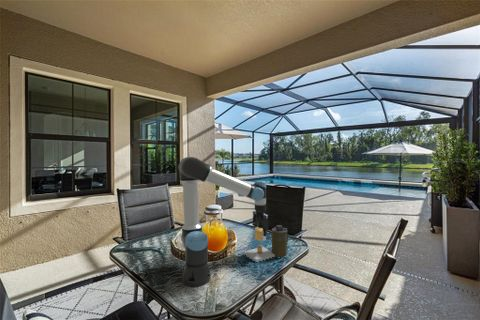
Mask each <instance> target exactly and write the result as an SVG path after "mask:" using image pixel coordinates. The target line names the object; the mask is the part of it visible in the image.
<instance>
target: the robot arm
mask: <svg viewBox="0 0 480 320" xmlns="http://www.w3.org/2000/svg"><path fill="white" fill-rule="evenodd" d="M177 169H178V172H179V181H180V182H181V184H182V195H183V197H182V199H183V221H184V223H183V225H182V226H181V236H180V237H181V238H180V239H181V243H182V244H183V248H184V250H185V262H184V264H185V265H184V267H183V272H182V274H181V282H182V284H184V285H185V286H188V287H200V286H203V285H206V284H208V283H209V282H210V281H211V279H212V276H211V275H212V273H211V270H210V266H209V262H208V261H209V256H208V255H209V251H208V250H209V236H208V234H206V233H205V232H203V225H202V224H201V222H200V209H199V208H200V207H199V204H200V203H199V184H198V183H199V182H203V183H205V182H208V183H210V184H214V185H216V186H218V187H221V188H224V189H226V190H228V191H231V192H233V193H236V194H237V196H238V197H242V198H243V197H245V198H249V199H251V200H253V201H254V210H253V211H252V221H251V222H252V224H251V225H252V226H253V229H254V232H255V229H257V228H260V227H259V223H260V224H261V227H262V228H263V230H262V241H261V242H265V241H267V231H269V229H270V228H269V227H270V226H269V214H266V211H267V182H266V181H265V180H255V181H254V183H253V184H252V183H248V182H245V181H243V180H241V179H238V178H237V177H233V176H232V175H229V174H227V173H225V172H222V171H219V170H218V169H214V168H213V167H212V165H211V164H208V163H206V162H204V161H202V160H201V159H199V158H198V157H196V156H195V157H194V156H187V157H184V158H183V159H181V160H180V161H179V163H178V168H177Z"/></svg>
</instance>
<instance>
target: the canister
mask: <svg viewBox="0 0 480 320" xmlns="http://www.w3.org/2000/svg"><path fill="white" fill-rule="evenodd" d="M288 232H289V229H288V228H286V227H284V226H283V225H281V224H278V225H275V226H274V227H273V228H271V251H272V253H273V254H275V257H284V256H286V255H287V254H288V251H287V250H288V241H289V239H288V238H289V237H288V236H289V235H288ZM287 256H288V255H287ZM275 257H274V258H275Z"/></svg>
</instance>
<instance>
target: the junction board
mask: <svg viewBox="0 0 480 320" xmlns="http://www.w3.org/2000/svg"><path fill="white" fill-rule="evenodd" d="M243 255H244V256H245V255H246V256H245V257H246V258H248V257H249V258H248V259H250V260H251V259H252V260H251V261H253V262H254V261H255V262H254V263H256V262H258V263H260V262H259V261H261V262H264V261H267V260H266V259H268V260H270V259H269V258H271V259H273V258H272V257H274V258H275V254H273V253H272V250H270V249H269V248H266V247H264V246H263V245H261V244H258V245H257V247H256V248H253V249H252V248H251V249H249V250H245V251H243ZM263 260H264V261H263Z"/></svg>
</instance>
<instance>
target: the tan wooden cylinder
mask: <svg viewBox="0 0 480 320" xmlns="http://www.w3.org/2000/svg"><path fill="white" fill-rule="evenodd" d="M254 229H255V228H254ZM262 230H263V228H261V227H259V228H257V229H255V231H254V240H255V241H257V242H263V241H262Z"/></svg>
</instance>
